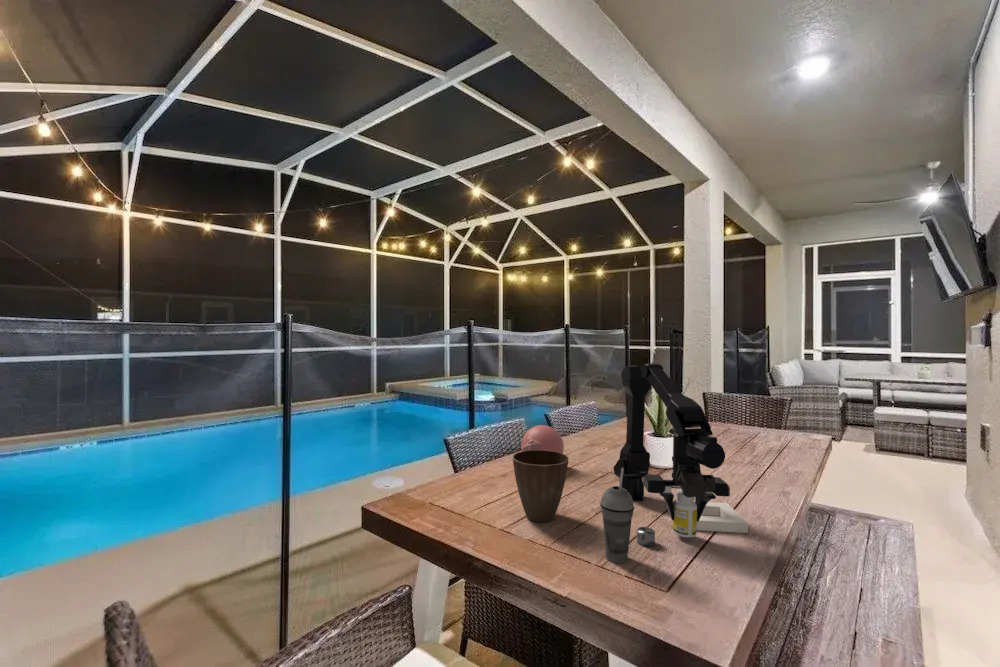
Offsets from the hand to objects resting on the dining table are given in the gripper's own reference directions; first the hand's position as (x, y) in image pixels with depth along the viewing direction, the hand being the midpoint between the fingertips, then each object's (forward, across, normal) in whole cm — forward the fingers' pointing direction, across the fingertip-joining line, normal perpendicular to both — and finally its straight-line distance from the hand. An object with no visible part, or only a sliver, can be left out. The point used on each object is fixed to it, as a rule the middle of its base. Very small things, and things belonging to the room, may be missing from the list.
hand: (684, 520), depth 108 cm
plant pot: (+4, -35, +8) cm, 36 cm away
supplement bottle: (+3, 0, 0) cm, 3 cm away
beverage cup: (+4, -18, -12) cm, 22 cm away
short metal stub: (+4, -10, -4) cm, 12 cm away
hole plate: (+4, +10, +11) cm, 15 cm away
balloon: (+5, -36, +49) cm, 61 cm away
